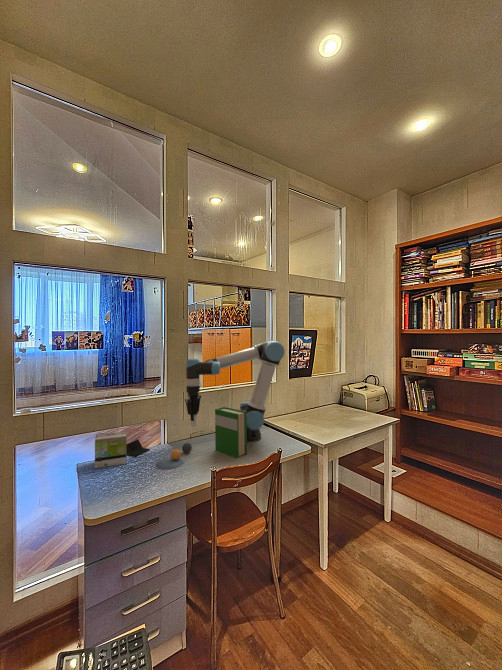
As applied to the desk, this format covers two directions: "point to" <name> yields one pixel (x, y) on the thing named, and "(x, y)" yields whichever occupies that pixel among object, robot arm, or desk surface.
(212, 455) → the desk surface
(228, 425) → the hardback book
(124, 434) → the tea box
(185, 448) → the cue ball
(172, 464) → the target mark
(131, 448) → the black bookend
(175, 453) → the orange ball
